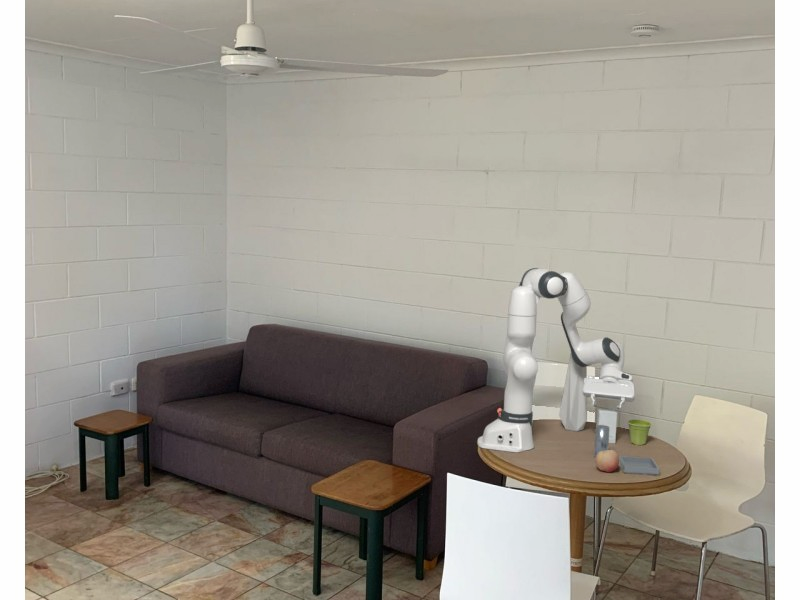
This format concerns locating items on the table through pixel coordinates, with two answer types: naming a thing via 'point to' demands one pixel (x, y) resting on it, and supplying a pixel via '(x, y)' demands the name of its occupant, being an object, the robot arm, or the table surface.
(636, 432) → the plant pot
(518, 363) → the robot arm
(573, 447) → the table surface
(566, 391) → the vase
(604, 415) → the supplement box
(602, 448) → the canister
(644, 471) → the tray
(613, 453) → the fruit
